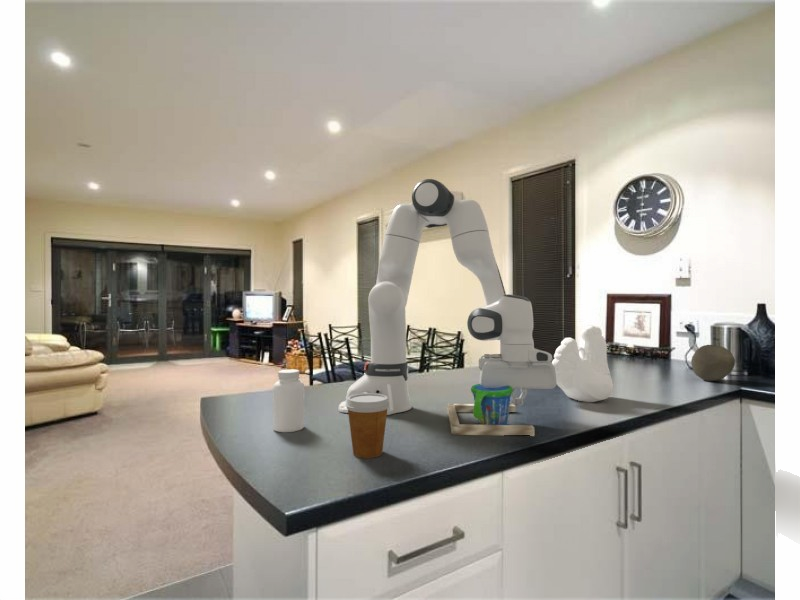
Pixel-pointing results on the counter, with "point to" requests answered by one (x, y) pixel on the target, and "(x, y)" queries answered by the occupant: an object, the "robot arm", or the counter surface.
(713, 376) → the cantaloupe
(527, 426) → the wooden frame
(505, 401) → the snack cup
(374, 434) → the disposable coffee cup
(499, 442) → the counter surface
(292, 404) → the pill bottle
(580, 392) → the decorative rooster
